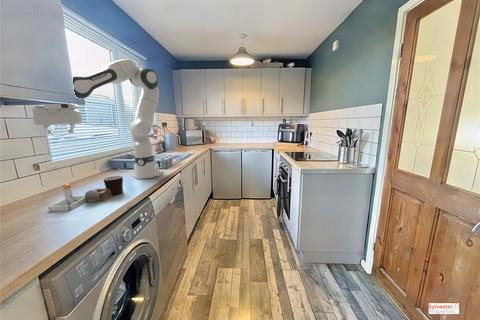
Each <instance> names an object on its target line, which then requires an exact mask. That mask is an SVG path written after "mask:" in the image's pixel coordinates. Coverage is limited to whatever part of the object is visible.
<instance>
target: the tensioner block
mask: <svg viewBox="0 0 480 320" xmlns="http://www.w3.org/2000/svg"><path fill="white" fill-rule="evenodd" d="M84 196H85V199H86V203H90V204H94V203H97V202H105V201H106V200H108V199H110V198H111V197H113V196H112V194H111V189H107V188H106V187H98V188H97V187H96V188H94V189H90V190H88V191H86V192H85V193H84Z"/></svg>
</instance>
